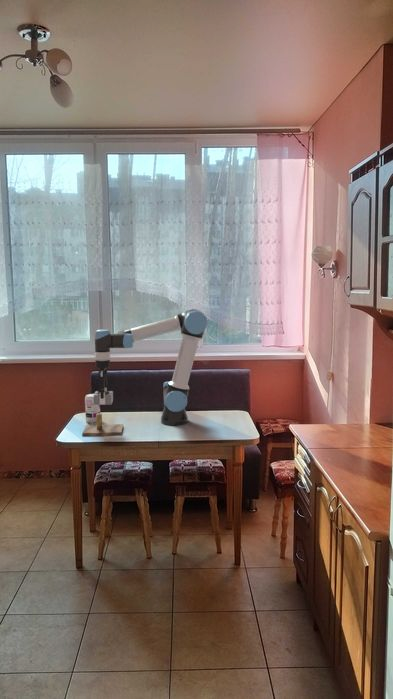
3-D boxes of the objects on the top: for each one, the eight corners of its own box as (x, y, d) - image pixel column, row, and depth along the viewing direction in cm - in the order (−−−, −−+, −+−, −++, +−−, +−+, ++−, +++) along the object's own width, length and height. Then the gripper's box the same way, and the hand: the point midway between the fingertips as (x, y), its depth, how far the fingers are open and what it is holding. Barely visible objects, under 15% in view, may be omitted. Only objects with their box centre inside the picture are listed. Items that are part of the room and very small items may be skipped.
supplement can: (100, 418, 289) (99, 393, 287) (100, 422, 281) (99, 396, 279) (86, 419, 288) (85, 393, 286) (85, 423, 280) (84, 397, 278)
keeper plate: (123, 426, 273) (122, 409, 271) (121, 434, 259) (120, 417, 258) (86, 427, 272) (85, 410, 270) (82, 436, 258) (81, 418, 256)
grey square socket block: (112, 400, 267) (112, 391, 266) (111, 404, 258) (111, 395, 258) (95, 400, 266) (95, 391, 266) (93, 404, 258) (93, 395, 257)
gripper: (97, 356, 270) (98, 397, 273) (92, 363, 248) (93, 407, 251) (111, 356, 270) (112, 396, 273) (107, 363, 249) (108, 407, 252)
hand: (103, 401), depth 262 cm, fingers closed on grey square socket block, 9 cm apart
